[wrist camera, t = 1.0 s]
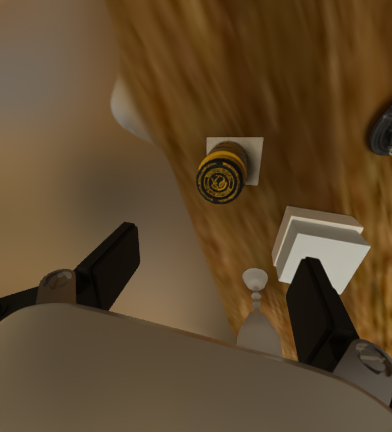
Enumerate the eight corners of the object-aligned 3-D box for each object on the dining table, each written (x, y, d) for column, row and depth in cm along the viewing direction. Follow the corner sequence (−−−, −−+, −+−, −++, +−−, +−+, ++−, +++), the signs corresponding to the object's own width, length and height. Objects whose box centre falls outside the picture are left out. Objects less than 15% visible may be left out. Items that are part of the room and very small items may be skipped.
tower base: (286, 205, 34) (291, 215, 31) (351, 215, 33) (363, 227, 29) (271, 251, 39) (273, 265, 36) (327, 262, 37) (335, 278, 34)
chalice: (243, 291, 45) (241, 389, 29) (232, 268, 42) (224, 361, 27) (277, 286, 42) (296, 391, 26) (268, 261, 40) (283, 360, 24)
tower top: (292, 219, 31) (297, 233, 27) (356, 230, 30) (371, 246, 26) (275, 264, 35) (279, 281, 32) (331, 275, 34) (340, 294, 30)
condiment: (206, 137, 32) (187, 150, 21) (263, 137, 30) (272, 151, 20) (206, 182, 35) (190, 213, 25) (257, 184, 33) (263, 218, 23)
